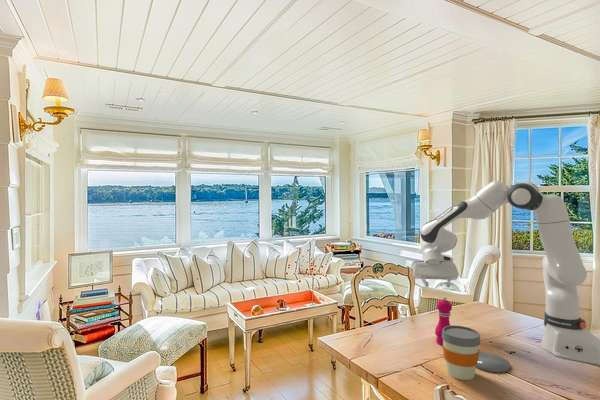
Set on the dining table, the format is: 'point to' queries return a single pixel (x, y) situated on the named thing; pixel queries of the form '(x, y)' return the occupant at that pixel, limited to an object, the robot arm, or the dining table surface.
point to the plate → (492, 363)
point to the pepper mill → (442, 318)
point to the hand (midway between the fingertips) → (437, 286)
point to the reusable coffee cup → (461, 351)
